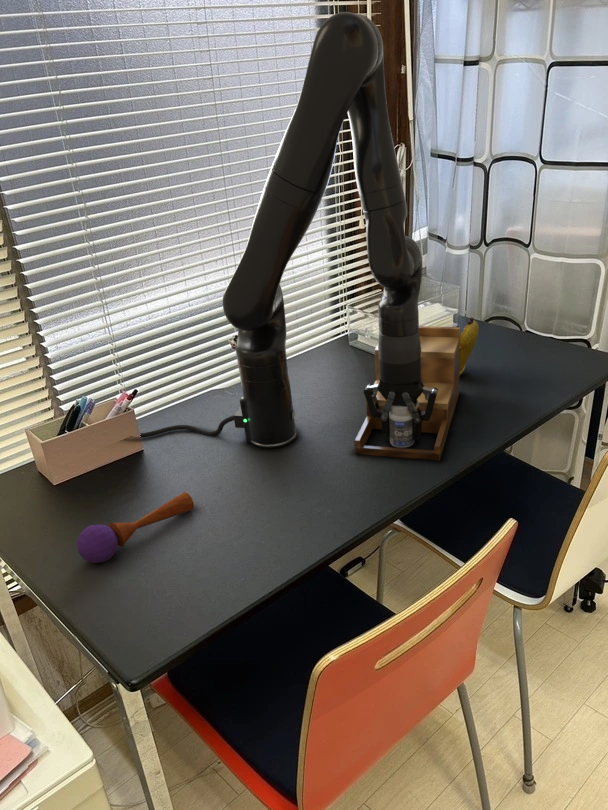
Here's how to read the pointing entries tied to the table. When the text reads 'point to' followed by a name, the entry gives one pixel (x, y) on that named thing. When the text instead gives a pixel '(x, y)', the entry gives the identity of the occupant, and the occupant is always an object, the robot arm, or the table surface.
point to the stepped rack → (435, 372)
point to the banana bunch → (467, 342)
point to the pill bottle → (401, 427)
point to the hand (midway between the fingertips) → (402, 436)
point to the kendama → (125, 530)
